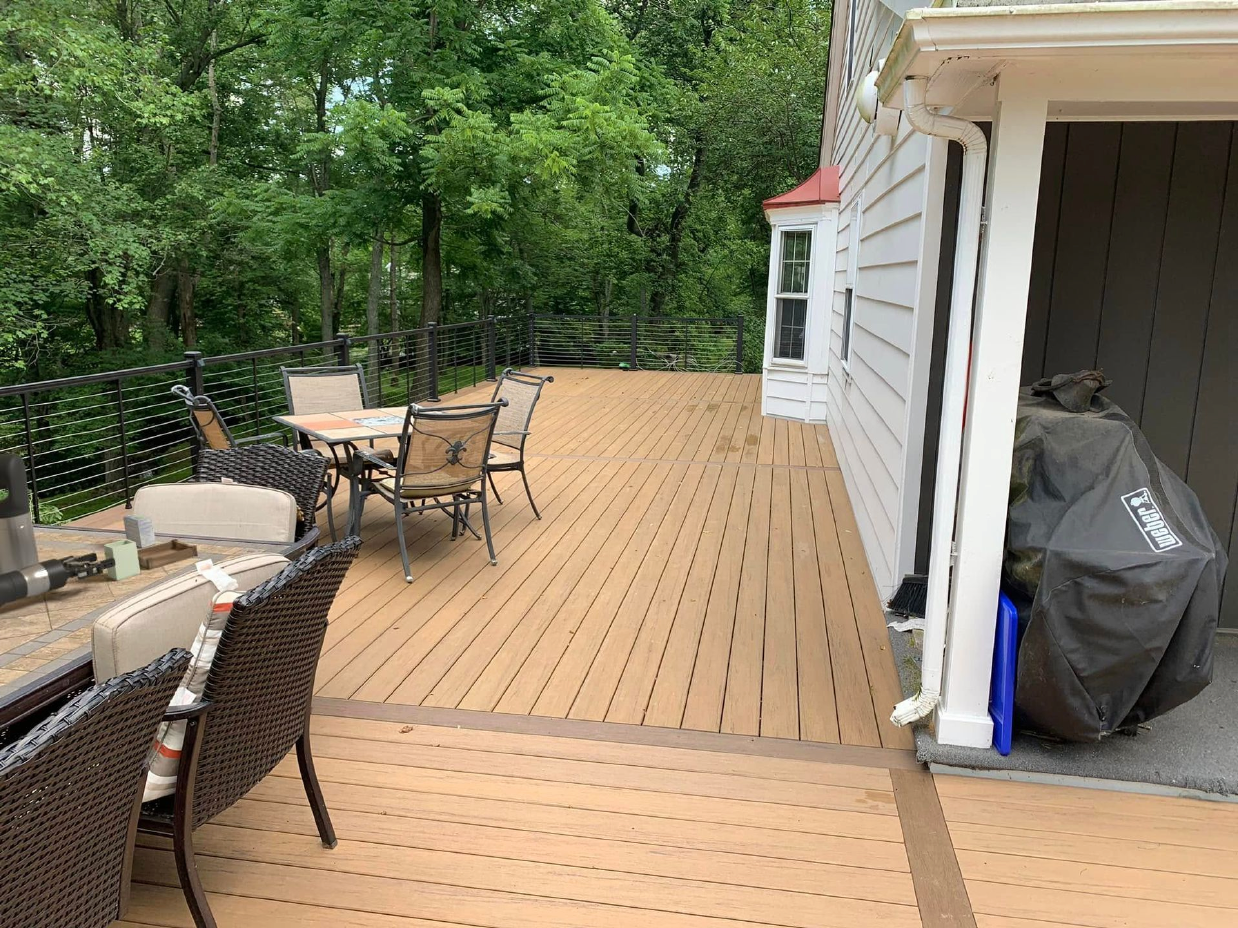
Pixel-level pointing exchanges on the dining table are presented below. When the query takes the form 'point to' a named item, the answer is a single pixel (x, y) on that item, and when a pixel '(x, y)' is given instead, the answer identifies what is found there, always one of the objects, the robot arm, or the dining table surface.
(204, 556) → the dining table surface
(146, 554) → the walnut crate
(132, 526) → the medicine box
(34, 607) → the dining table surface
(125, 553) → the small square vase
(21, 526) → the robot arm
